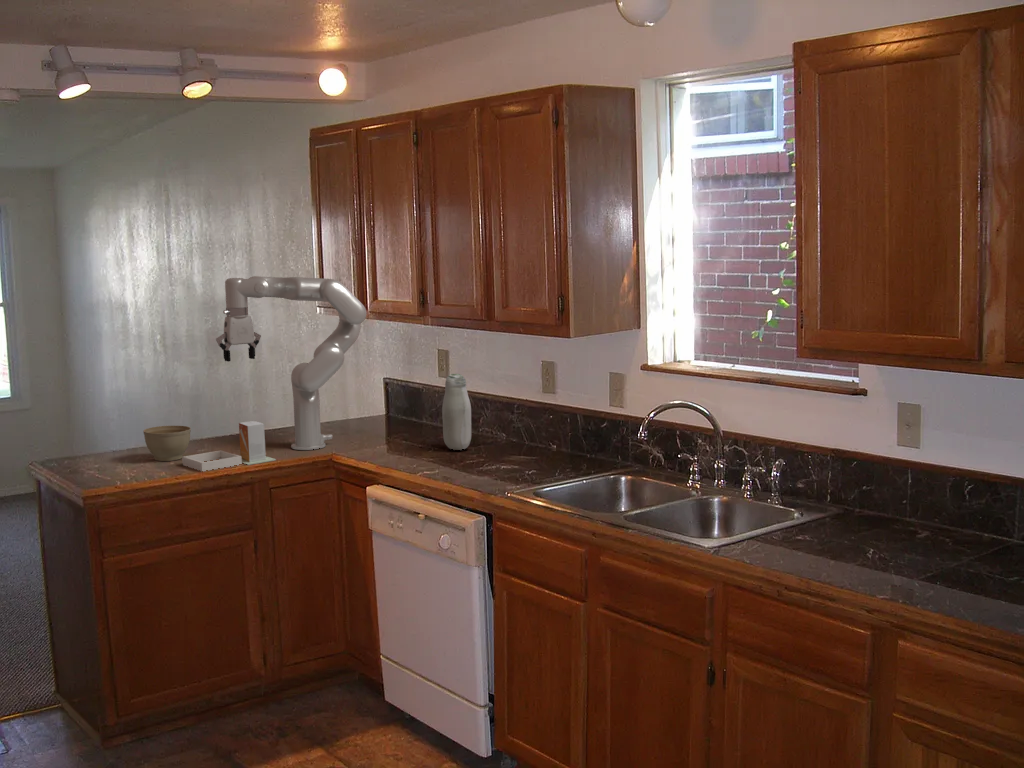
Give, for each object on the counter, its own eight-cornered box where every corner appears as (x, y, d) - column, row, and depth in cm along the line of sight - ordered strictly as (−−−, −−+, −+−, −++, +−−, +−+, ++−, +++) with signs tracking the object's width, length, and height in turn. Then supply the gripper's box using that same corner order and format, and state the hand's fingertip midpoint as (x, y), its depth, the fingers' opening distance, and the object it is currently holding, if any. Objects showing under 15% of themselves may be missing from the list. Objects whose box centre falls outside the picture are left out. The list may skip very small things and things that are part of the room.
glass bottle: (477, 449, 393) (475, 373, 389) (455, 454, 386) (454, 376, 382) (459, 446, 400) (457, 371, 396) (438, 450, 393) (436, 374, 389)
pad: (260, 455, 389) (260, 454, 389) (275, 460, 381) (275, 459, 381) (232, 460, 381) (232, 459, 381) (247, 465, 373) (247, 464, 373)
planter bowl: (177, 464, 376) (175, 433, 375) (136, 462, 380) (134, 432, 379) (201, 455, 392) (199, 425, 390) (161, 453, 396) (159, 424, 394)
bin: (221, 458, 385) (221, 450, 384) (241, 464, 374) (241, 456, 374) (182, 465, 375) (182, 456, 375) (202, 471, 364) (201, 462, 364)
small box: (240, 458, 382) (238, 422, 380) (257, 456, 386) (255, 420, 384) (249, 462, 376) (247, 425, 374) (266, 460, 379) (264, 423, 378)
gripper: (220, 314, 378) (222, 363, 381) (264, 311, 390) (266, 358, 392) (210, 313, 384) (212, 361, 386) (253, 310, 395) (256, 357, 398)
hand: (239, 359), depth 389 cm, fingers open, 9 cm apart
